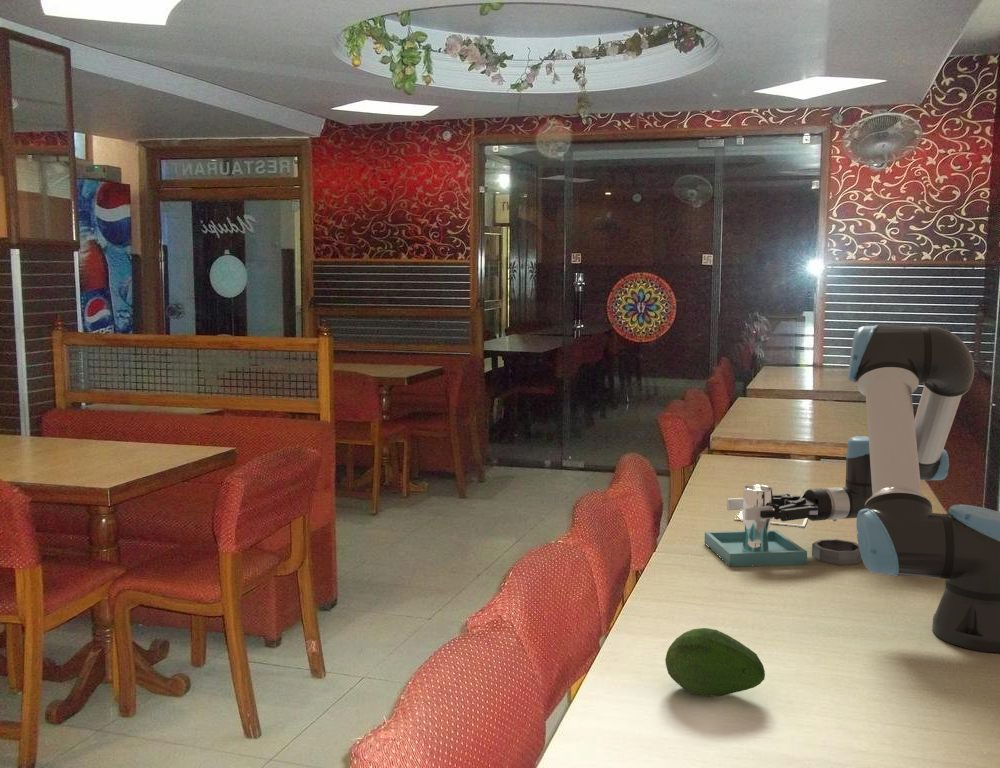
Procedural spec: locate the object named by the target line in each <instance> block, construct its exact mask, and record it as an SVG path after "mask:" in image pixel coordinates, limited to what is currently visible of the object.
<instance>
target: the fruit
mask: <svg viewBox="0 0 1000 768" xmlns="http://www.w3.org/2000/svg"><path fill="white" fill-rule="evenodd" d="M664 661H665V666H666V670H667V673H668V675H669V676H670V678H671V679H672V680H673V681H674V682H675V683H676V684H677V685H678V686H679V687H681V688H682V689H683V690H684V691H687V692H690V693H691V694H694V695H695V694H696V695H701V696H707V697H722V696H727V695H732V694H736V693H738V692H744V691H746V690H750V689H753V688H755V687H758V686H760V685H761V683H763V682H764V680H765V677H766V671H765V668H764V664H763V663H762V661H761V659H760V658H759V656H758V654H757V653H756V652H754V651H753V650H752V649H751V648H749V647H748V646H746V645H745V644H743V643H741V642H740V641H738V640H737V639H735V638H734V637H732V636H730V635H728V634H726V633H724V632H722V631H720V630H718V629H714V628H708V627H707V628H706V627H702V628H701V627H700V628H692V629H691V630H688V631H686V632H683V633H682V634H680V635H679V636H678V637H677V638H675V640H674V641H673V642H672V643H671V644H670V646H669V647H668V650H667V651H666V655H665V660H664Z"/></svg>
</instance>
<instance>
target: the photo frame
mask: <svg viewBox="0 0 1000 768" xmlns="http://www.w3.org/2000/svg"><path fill="white" fill-rule="evenodd" d="M773 510H774V509H773ZM739 511H740V510H739ZM736 515H737V514H736ZM737 516H738V517H739V518H740V520H743V514H742V511H740V513H739V515H737ZM734 518H735V517H734ZM735 519H736V518H735ZM737 519H738V518H737ZM808 520H809V519H808V518H805V519H803V522H802V524H796V523H785V522H778V521H777V522H776V521H771V524H770V525H773V524H779V525H778V526H783V525H787V526H786V527H793V526H796V528H804V529H805V527H806V525H807V522H808Z"/></svg>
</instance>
